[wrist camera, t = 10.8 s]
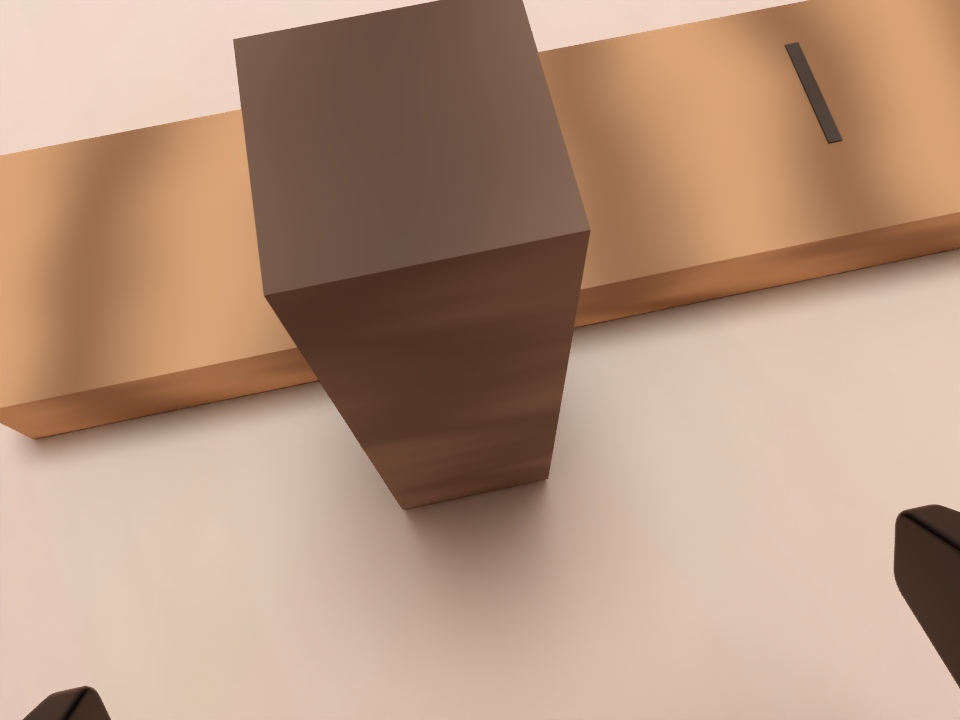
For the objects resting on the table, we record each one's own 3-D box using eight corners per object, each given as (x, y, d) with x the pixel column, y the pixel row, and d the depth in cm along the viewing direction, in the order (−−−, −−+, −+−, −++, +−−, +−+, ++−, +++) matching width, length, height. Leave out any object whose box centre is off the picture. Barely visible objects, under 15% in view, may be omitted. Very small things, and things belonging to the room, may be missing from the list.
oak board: (1092, -2, 28) (1147, -67, 25) (1219, 194, 25) (1295, 142, 22) (32, 204, 26) (-16, 157, 24) (33, 439, 23) (-22, 411, 21)
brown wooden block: (464, 135, 26) (422, -335, 14) (548, 478, 22) (590, 229, 10) (342, 159, 26) (193, -295, 14) (402, 509, 22) (264, 296, 10)
